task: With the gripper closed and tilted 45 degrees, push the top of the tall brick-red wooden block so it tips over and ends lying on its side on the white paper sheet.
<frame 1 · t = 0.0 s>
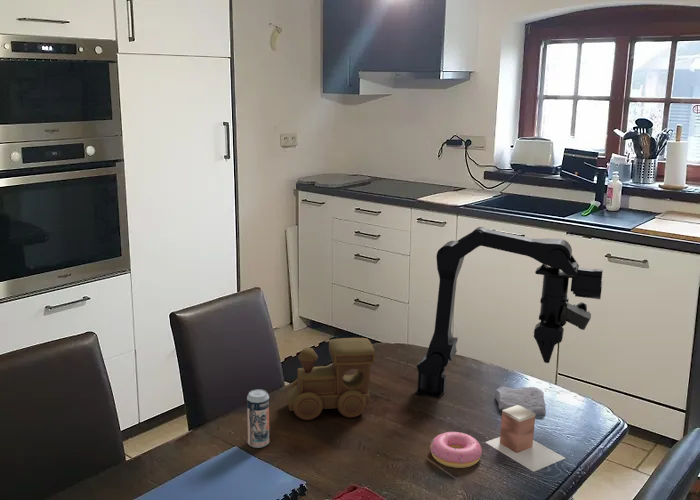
hand: (548, 355, 166), 15 cm above the table, tool pointing down, fingers open, 9 cm apart
wooden toy train: (329, 410, 168), on the table
doughnut: (455, 458, 148), on the table
brick block: (515, 444, 153), resting on white paper sheet
beer can: (258, 444, 151), on the table
white paper sheet: (524, 451, 151), on the table
stone block: (520, 409, 171), on the table
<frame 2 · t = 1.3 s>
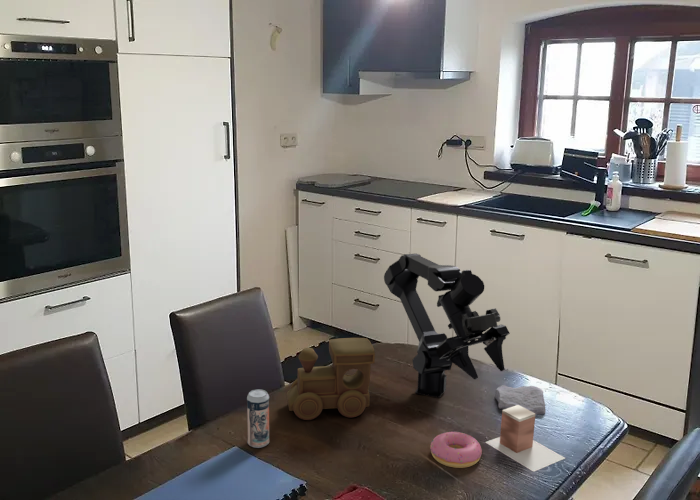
hand: (489, 374, 157), 13 cm above the table, tool tilted 45°, fingers open, 8 cm apart
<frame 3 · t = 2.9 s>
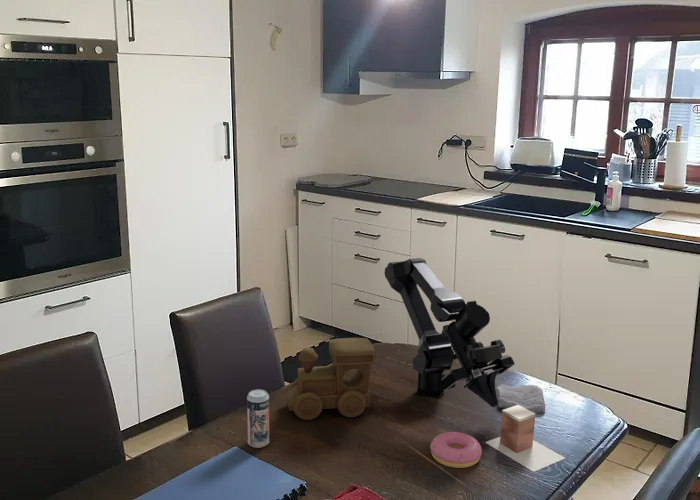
hand: (495, 406, 157), 7 cm above the table, tool tilted 45°, fingers closed
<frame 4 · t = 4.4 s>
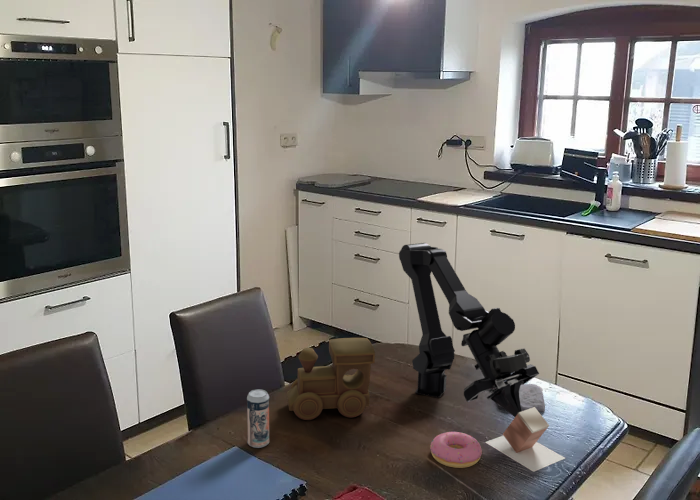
hand: (519, 418, 151), 7 cm above the table, tool tilted 45°, fingers closed
brick block: (517, 440, 152), point 2 cm above the table, tilted 30°, touching white paper sheet
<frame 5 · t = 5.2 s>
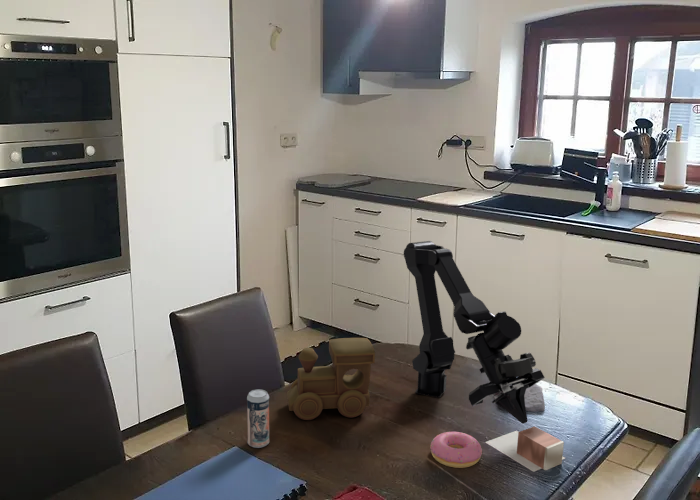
hand: (525, 422, 150), 7 cm above the table, tool tilted 45°, fingers closed
brick block: (525, 439, 150), point 3 cm above the table, tilted 90°, touching white paper sheet
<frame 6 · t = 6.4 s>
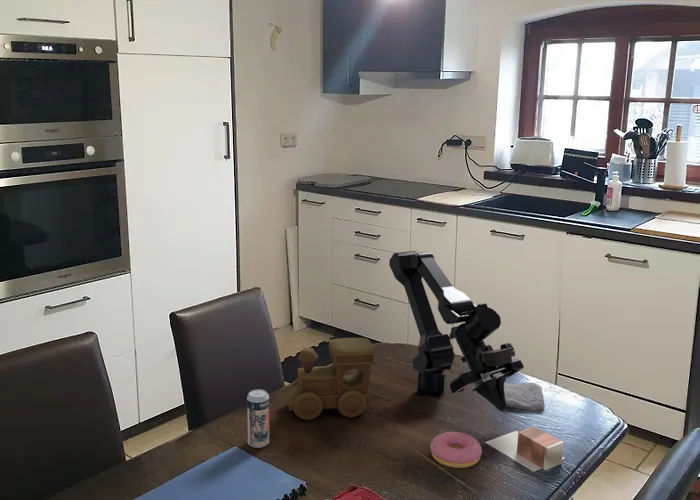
hand: (504, 410, 155), 7 cm above the table, tool tilted 45°, fingers closed
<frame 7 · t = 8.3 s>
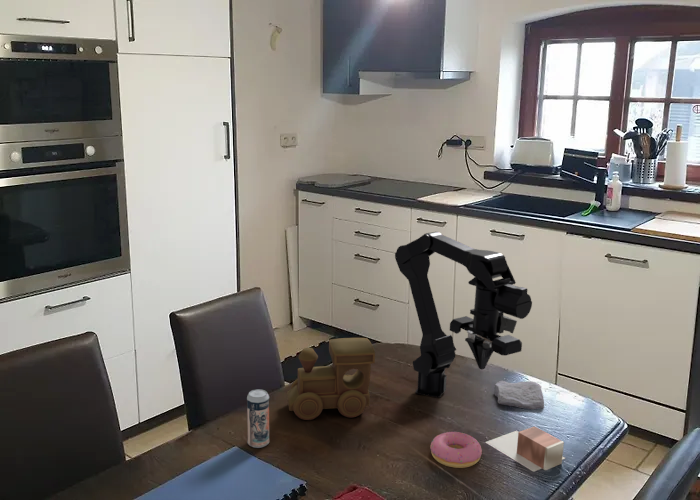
hand: (481, 368, 164), 12 cm above the table, tool pointing down, fingers closed
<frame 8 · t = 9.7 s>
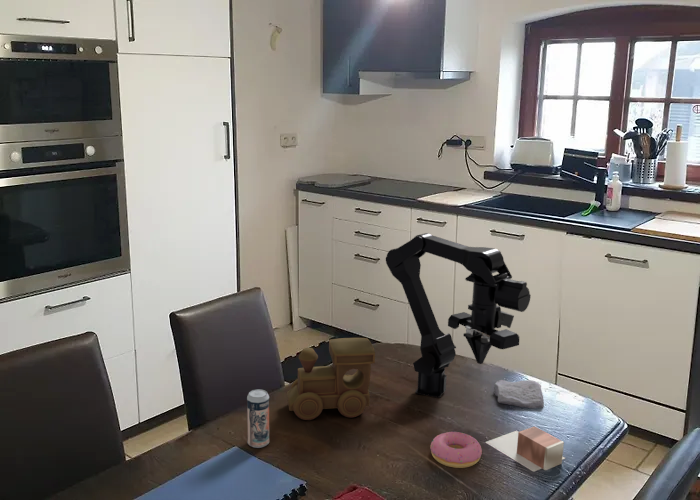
hand: (480, 363, 167), 12 cm above the table, tool pointing down, fingers closed
at the end: brick block tilted 90°; brick block 0.0 cm from the white paper sheet (horizontally); brick block point 2.8 cm above the table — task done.
